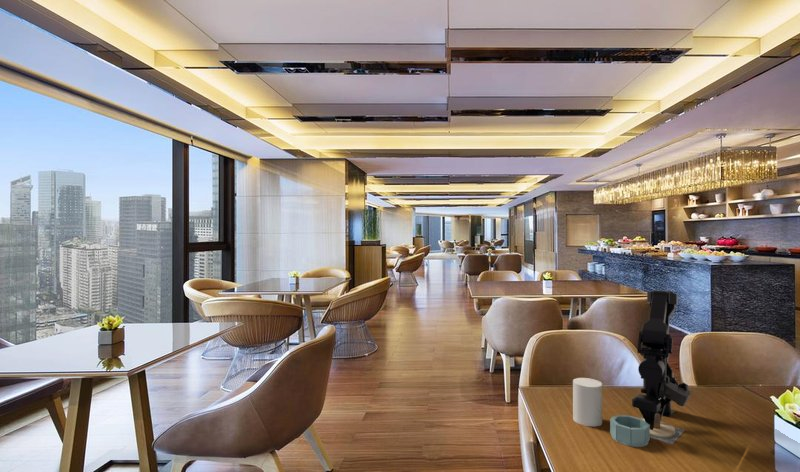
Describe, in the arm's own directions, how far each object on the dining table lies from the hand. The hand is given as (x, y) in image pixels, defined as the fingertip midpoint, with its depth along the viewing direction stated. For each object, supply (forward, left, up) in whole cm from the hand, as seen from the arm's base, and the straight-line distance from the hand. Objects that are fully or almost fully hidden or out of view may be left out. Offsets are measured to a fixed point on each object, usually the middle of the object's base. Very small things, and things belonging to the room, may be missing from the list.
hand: (654, 425), depth 124 cm
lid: (0, 0, -1) cm, 1 cm away
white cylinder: (+8, -16, -2) cm, 18 cm away
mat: (0, 0, -2) cm, 2 cm away
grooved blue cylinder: (+11, -3, -2) cm, 12 cm away
